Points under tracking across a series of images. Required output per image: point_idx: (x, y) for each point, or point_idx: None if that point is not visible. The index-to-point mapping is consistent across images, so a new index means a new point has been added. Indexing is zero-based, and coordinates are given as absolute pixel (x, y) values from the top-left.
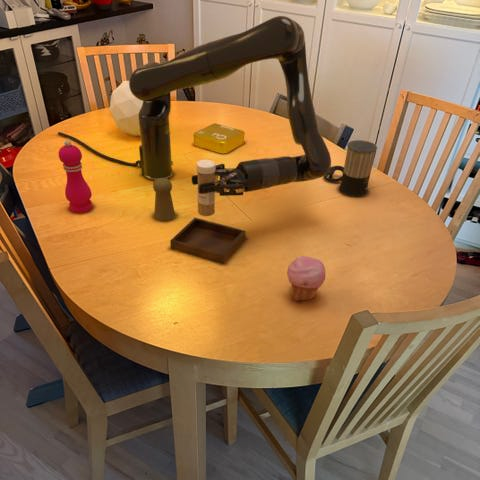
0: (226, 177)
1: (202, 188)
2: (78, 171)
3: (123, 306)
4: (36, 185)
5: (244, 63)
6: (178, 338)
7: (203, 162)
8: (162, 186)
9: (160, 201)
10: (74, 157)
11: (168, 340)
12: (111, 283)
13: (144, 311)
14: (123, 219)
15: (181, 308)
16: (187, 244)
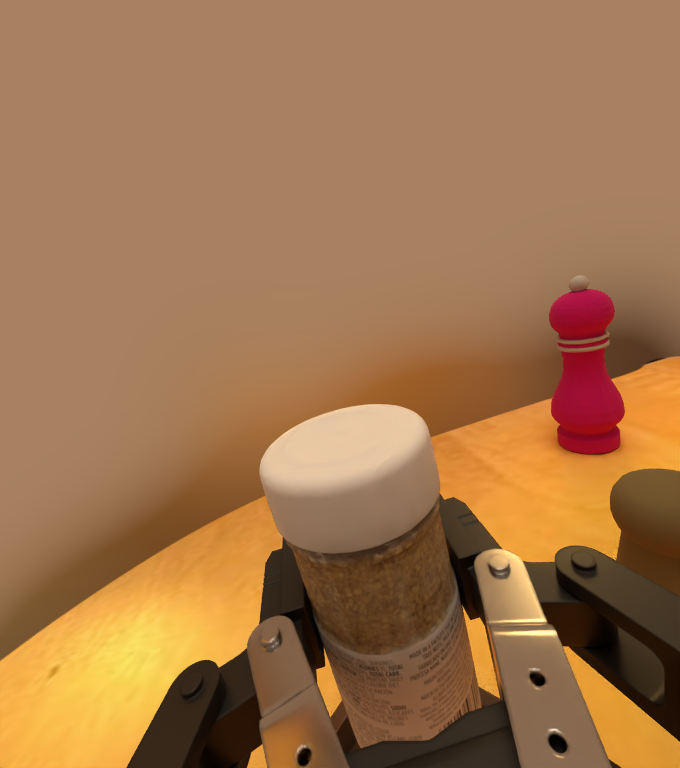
0: (309, 765)
1: (273, 555)
2: (575, 354)
3: (192, 562)
4: (651, 380)
5: None
6: (5, 677)
7: (351, 423)
8: (620, 499)
9: (618, 552)
10: (560, 317)
11: (25, 653)
12: (274, 534)
13: (149, 600)
14: (565, 515)
15: (85, 689)
16: (344, 706)
